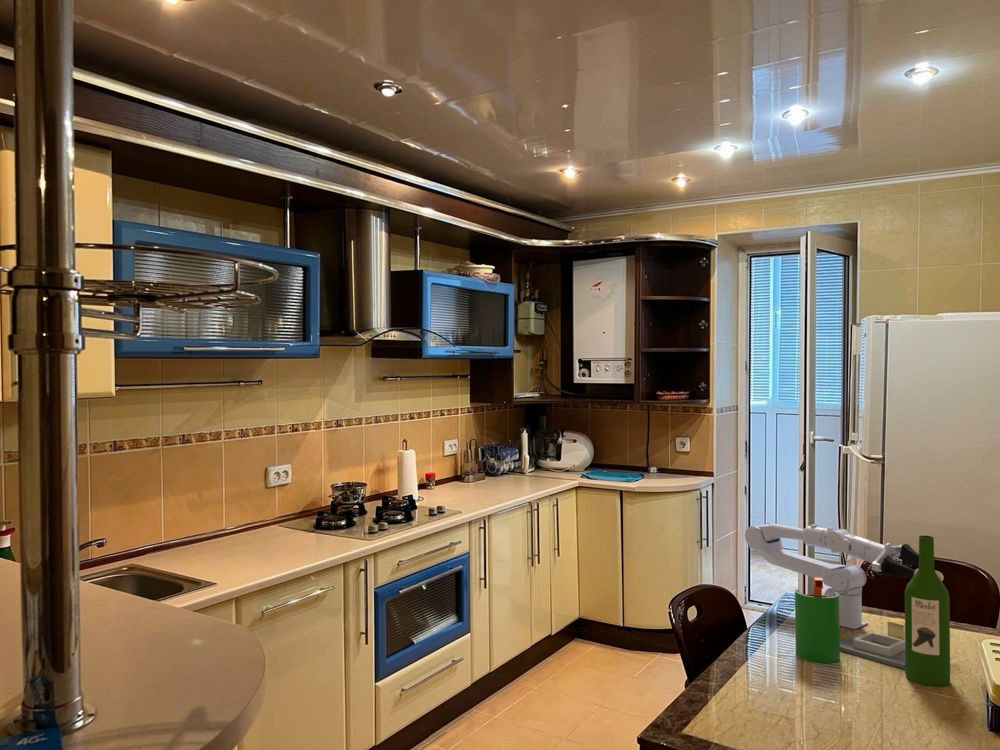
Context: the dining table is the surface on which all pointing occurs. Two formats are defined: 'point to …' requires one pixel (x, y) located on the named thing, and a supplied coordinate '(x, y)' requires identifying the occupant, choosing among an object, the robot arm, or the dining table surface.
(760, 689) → the dining table surface
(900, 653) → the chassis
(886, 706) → the dining table surface
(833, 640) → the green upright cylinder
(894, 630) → the tan rectangular block
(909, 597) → the wine bottle
